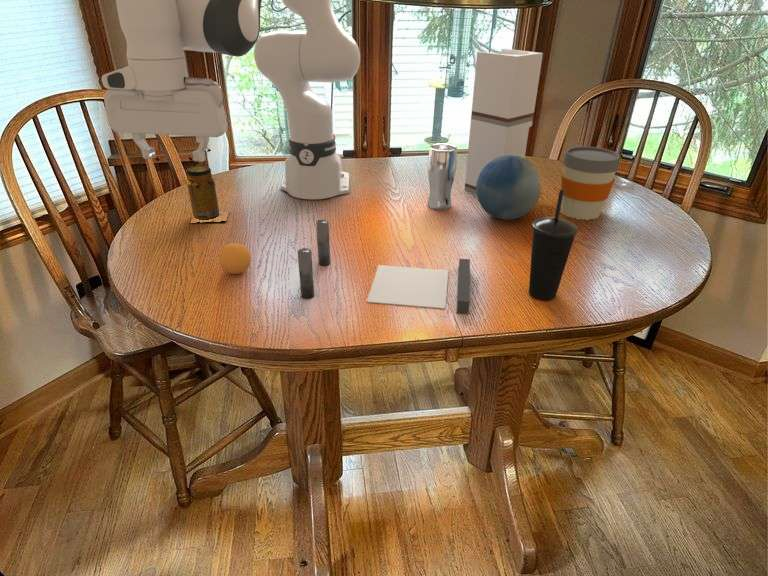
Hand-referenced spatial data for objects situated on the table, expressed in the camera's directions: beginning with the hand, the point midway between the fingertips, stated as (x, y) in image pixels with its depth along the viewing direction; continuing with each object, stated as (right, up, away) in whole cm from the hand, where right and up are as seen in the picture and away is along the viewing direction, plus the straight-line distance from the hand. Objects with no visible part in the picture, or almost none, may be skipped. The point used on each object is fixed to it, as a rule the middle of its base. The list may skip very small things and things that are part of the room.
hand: (174, 159), depth 94 cm
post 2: (+25, -18, +13) cm, 34 cm away
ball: (+8, -17, +8) cm, 21 cm away
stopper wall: (+52, -23, +5) cm, 57 cm away
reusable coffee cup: (+86, -4, +38) cm, 94 cm away
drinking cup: (+66, -24, +4) cm, 71 cm away
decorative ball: (+67, -6, +35) cm, 75 cm away
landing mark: (+42, -22, +6) cm, 48 cm away
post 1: (+23, -24, +2) cm, 34 cm away
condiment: (-4, -6, +33) cm, 34 cm away
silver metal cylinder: (+51, -2, +41) cm, 66 cm away
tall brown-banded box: (+67, +3, +51) cm, 84 cm away
